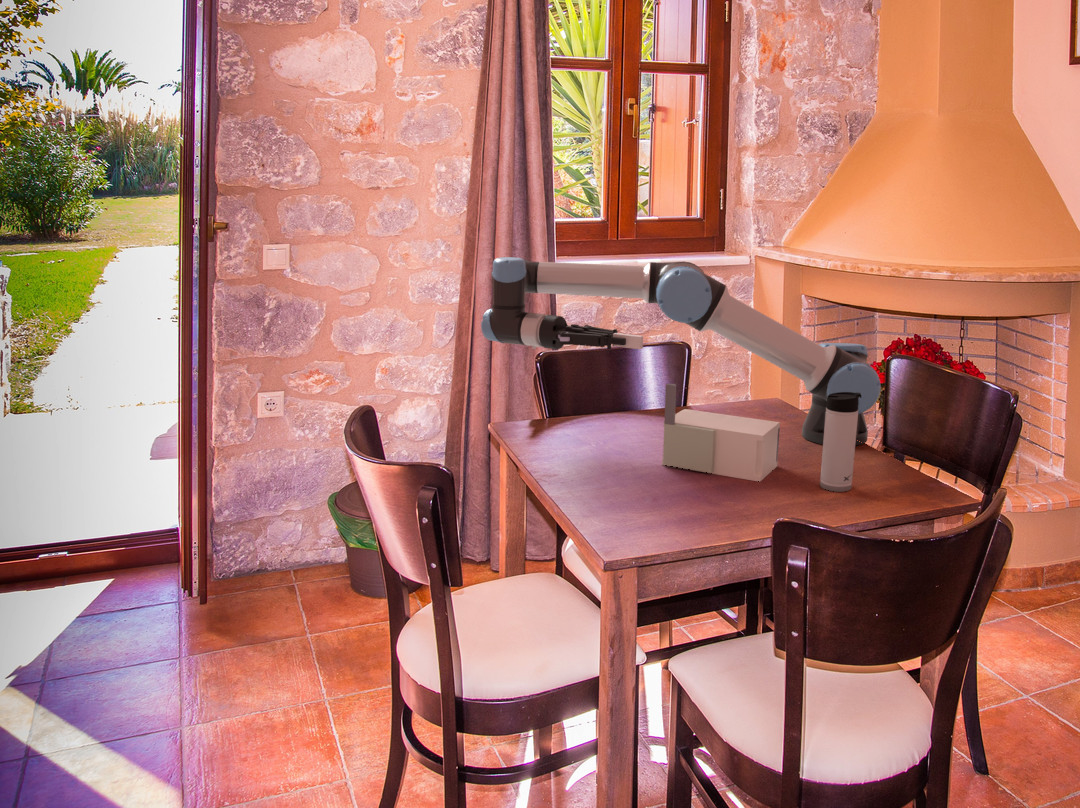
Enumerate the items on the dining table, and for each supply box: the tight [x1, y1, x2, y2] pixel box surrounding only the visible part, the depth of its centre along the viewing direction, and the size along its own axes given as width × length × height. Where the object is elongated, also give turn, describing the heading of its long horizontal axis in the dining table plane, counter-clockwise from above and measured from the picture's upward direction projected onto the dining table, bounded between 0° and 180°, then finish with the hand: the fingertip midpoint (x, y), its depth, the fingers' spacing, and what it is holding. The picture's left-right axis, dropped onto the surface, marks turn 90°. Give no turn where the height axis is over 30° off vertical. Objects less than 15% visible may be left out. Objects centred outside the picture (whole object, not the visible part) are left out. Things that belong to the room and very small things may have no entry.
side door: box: [662, 383, 715, 474], centre depth 212 cm, size 11×1×18 cm, turn 61°
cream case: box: [661, 408, 781, 483], centre depth 217 cm, size 22×12×10 cm, turn 61°
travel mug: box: [819, 392, 861, 493], centre depth 202 cm, size 6×7×20 cm
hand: (641, 342), depth 213 cm, fingers closed
